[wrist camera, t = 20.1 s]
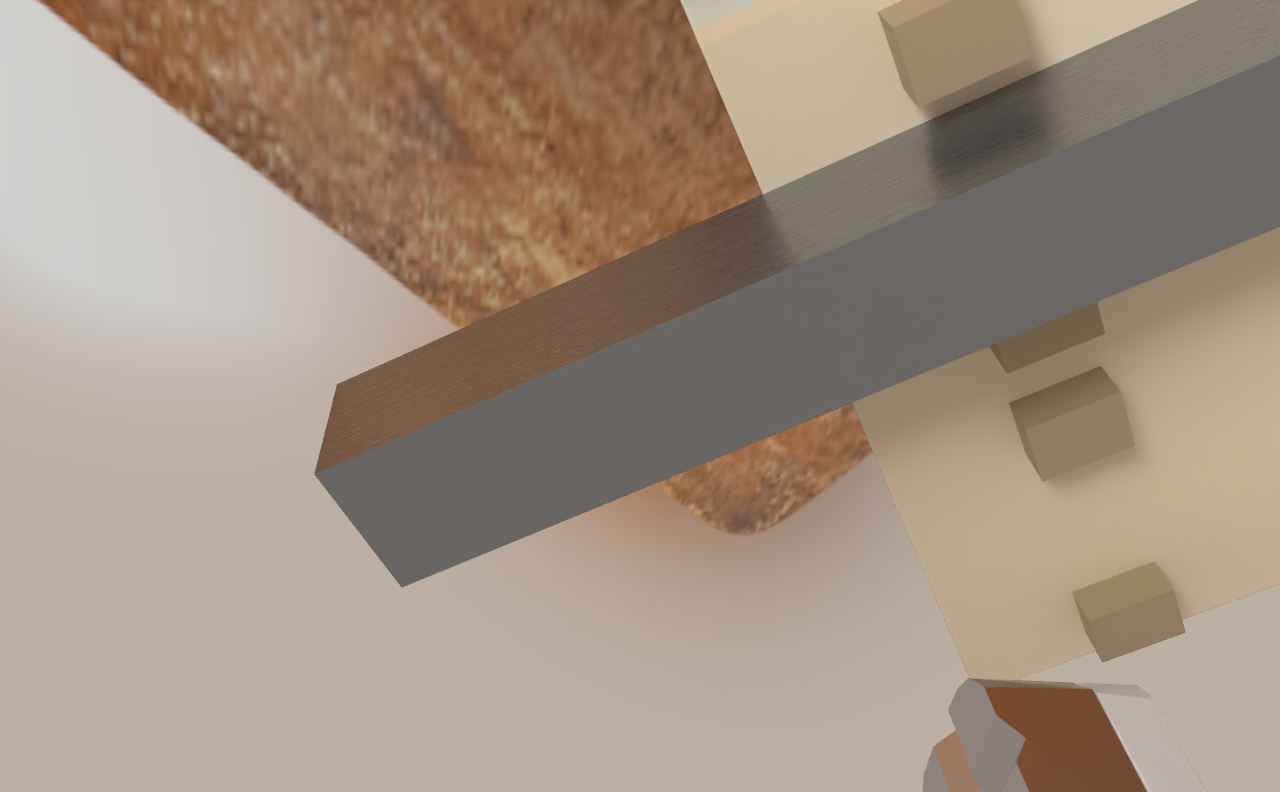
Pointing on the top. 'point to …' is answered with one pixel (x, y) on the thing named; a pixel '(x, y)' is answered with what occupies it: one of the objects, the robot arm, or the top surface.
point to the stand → (1036, 354)
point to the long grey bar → (820, 291)
